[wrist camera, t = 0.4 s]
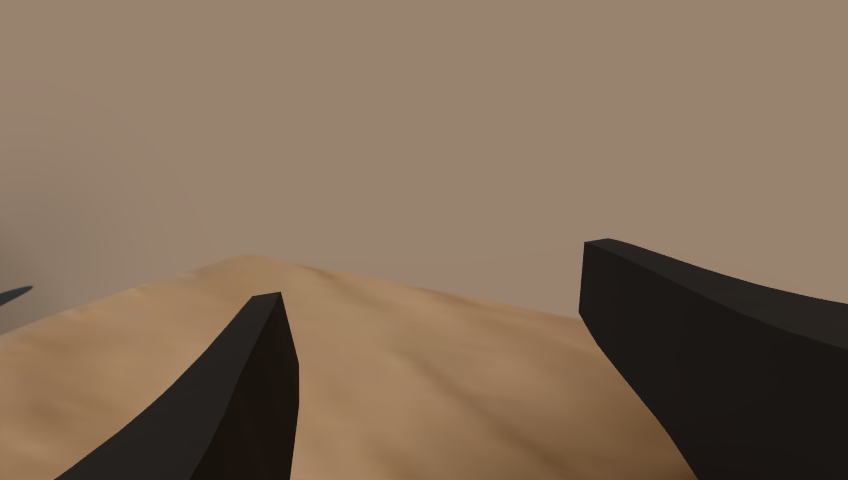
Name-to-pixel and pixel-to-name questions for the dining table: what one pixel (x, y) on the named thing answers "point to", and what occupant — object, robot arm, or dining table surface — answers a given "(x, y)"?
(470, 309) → the dining table surface
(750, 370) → the robot arm
